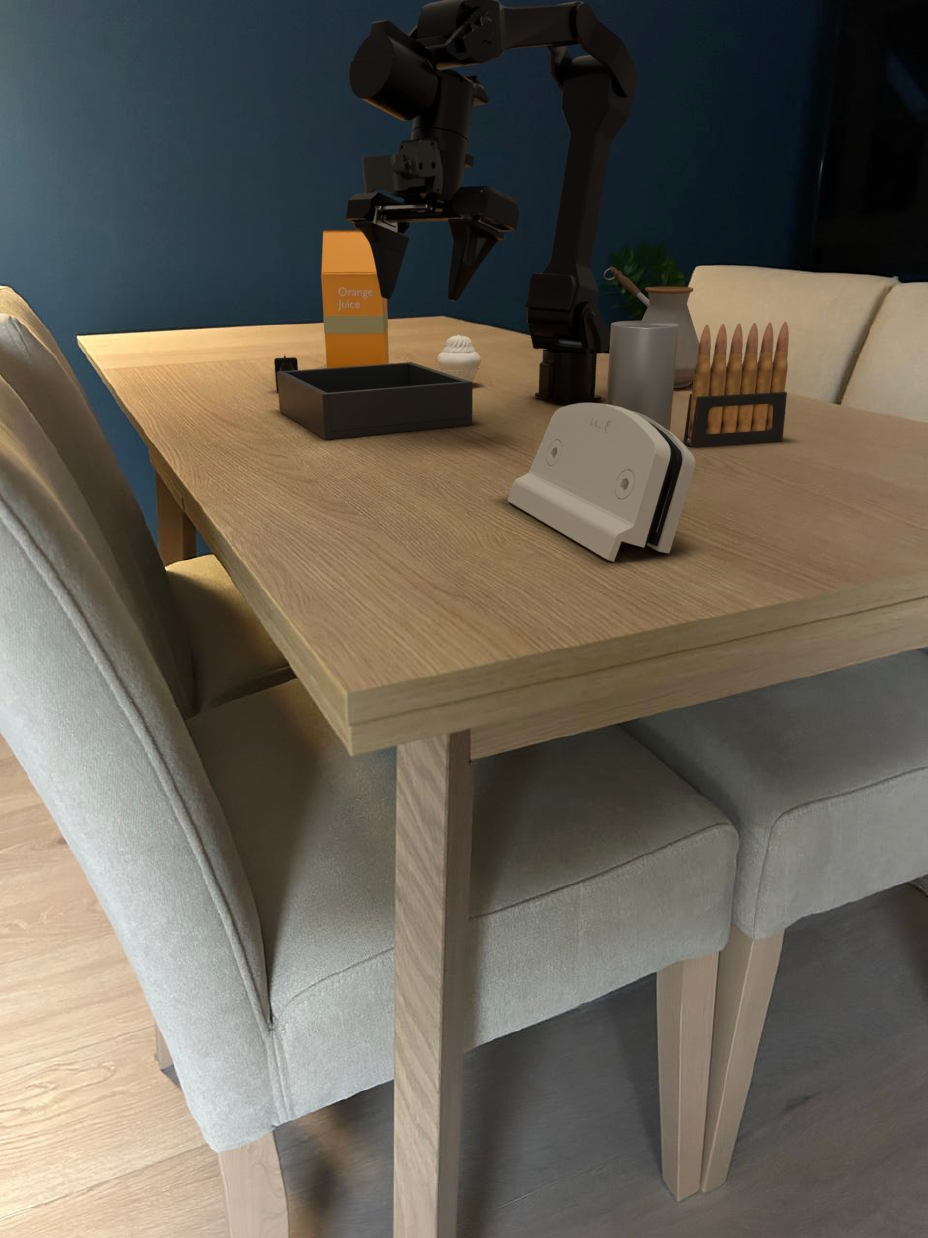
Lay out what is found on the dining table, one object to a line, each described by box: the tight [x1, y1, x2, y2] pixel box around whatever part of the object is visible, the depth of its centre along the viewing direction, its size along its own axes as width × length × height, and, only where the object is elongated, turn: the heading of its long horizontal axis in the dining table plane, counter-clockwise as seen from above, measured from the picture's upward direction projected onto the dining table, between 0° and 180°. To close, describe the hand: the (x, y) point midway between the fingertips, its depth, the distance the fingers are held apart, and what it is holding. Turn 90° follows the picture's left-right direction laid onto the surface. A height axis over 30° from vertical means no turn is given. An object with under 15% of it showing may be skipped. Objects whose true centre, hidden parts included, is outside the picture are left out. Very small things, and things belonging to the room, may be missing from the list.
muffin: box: [436, 333, 482, 383], centre depth 130 cm, size 6×6×7 cm
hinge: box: [507, 402, 696, 563], centre depth 71 cm, size 17×5×10 cm, turn 23°
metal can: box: [605, 320, 679, 432], centre depth 87 cm, size 6×6×13 cm
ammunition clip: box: [682, 321, 790, 448], centre depth 96 cm, size 11×2×12 cm, turn 105°
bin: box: [277, 361, 474, 441], centre depth 110 cm, size 18×18×5 cm
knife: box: [273, 354, 299, 392], centre depth 129 cm, size 31×3×4 cm, turn 8°
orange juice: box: [320, 230, 390, 368], centre depth 140 cm, size 8×9×20 cm
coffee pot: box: [603, 265, 700, 389], centre depth 133 cm, size 21×12×15 cm, turn 24°
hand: (418, 299), depth 96 cm, fingers open, 9 cm apart
